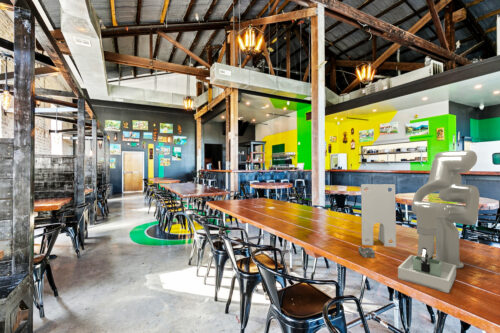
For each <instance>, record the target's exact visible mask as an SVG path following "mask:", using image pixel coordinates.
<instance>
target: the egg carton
mask: <svg viewBox="0 0 500 333" xmlns="http://www.w3.org/2000/svg"><path fill="white" fill-rule="evenodd" d="M358 253H359V254H360V255H361V257H362V258H363V257H364V258H365V259H366V258H372V259H374V258H376V256H375V253H376V252H375V250H374V249H373V247H364V248H363V246H362V245H358Z"/></svg>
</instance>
